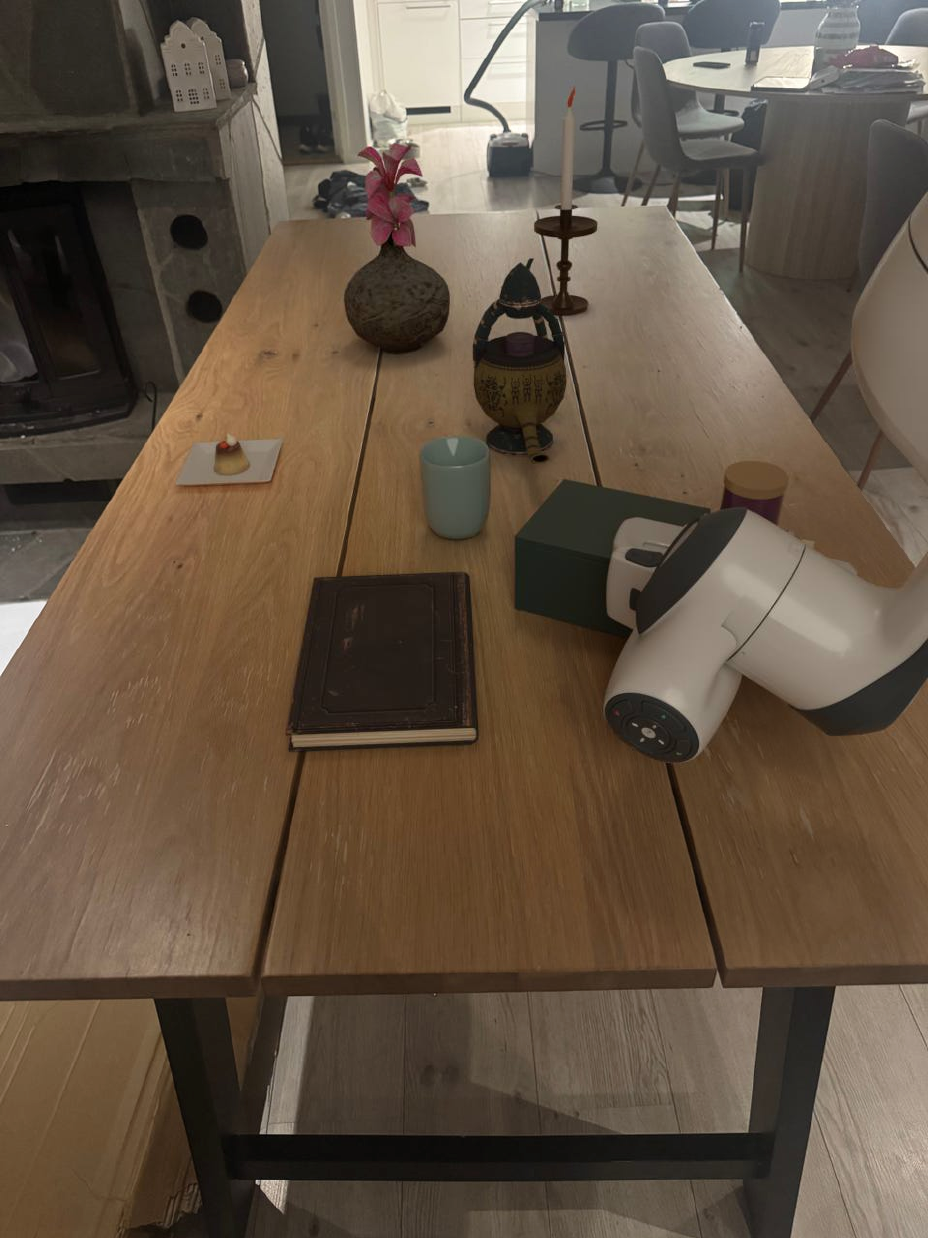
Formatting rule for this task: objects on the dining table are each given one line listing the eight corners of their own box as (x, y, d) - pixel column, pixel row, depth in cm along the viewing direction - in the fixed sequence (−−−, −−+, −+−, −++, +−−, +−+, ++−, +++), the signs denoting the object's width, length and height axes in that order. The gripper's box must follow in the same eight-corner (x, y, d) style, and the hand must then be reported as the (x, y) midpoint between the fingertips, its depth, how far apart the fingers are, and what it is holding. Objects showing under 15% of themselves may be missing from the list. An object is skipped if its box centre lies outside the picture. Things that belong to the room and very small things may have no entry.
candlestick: (604, 304, 168) (617, 83, 147) (571, 321, 161) (580, 92, 141) (555, 294, 174) (561, 79, 153) (520, 310, 167) (522, 87, 146)
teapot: (551, 410, 132) (556, 239, 118) (589, 494, 112) (600, 300, 98) (467, 416, 131) (462, 245, 117) (490, 502, 111) (487, 308, 97)
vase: (367, 372, 145) (347, 163, 128) (336, 337, 159) (313, 143, 141) (466, 354, 150) (459, 150, 133) (427, 321, 163) (417, 132, 146)
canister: (769, 588, 89) (794, 467, 81) (757, 618, 85) (782, 494, 78) (713, 575, 91) (733, 455, 83) (699, 604, 87) (718, 482, 80)
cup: (492, 547, 103) (490, 466, 97) (422, 549, 103) (416, 468, 97) (491, 512, 109) (490, 434, 103) (425, 513, 109) (420, 435, 103)
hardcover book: (289, 752, 78) (285, 732, 77) (316, 595, 96) (314, 577, 95) (478, 744, 78) (478, 724, 77) (470, 589, 96) (469, 570, 95)
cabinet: (700, 580, 97) (711, 508, 91) (664, 648, 88) (674, 573, 82) (561, 547, 102) (563, 478, 97) (514, 608, 94) (514, 536, 88)
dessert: (175, 492, 116) (167, 457, 113) (195, 449, 125) (188, 416, 122) (271, 488, 116) (265, 453, 113) (284, 445, 125) (279, 412, 122)
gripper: (852, 609, 69) (876, 522, 79) (593, 549, 77) (644, 477, 87) (834, 674, 73) (860, 583, 83) (589, 611, 81) (639, 535, 90)
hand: (748, 528), depth 85 cm, fingers closed on canister, 5 cm apart
